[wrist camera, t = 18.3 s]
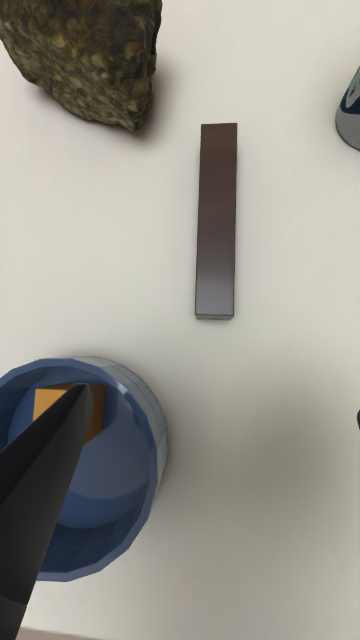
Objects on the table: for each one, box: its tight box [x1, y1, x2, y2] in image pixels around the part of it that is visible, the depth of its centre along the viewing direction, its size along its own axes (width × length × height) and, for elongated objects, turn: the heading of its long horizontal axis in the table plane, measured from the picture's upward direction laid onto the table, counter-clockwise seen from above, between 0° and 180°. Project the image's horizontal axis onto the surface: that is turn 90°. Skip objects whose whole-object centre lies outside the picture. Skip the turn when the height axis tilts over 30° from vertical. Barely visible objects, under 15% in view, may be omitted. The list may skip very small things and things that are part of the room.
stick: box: [195, 123, 237, 320], centre depth 21 cm, size 3×3×14 cm
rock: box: [0, 0, 162, 132], centre depth 21 cm, size 12×9×8 cm
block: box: [33, 383, 105, 446], centre depth 19 cm, size 3×3×3 cm
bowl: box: [0, 357, 168, 582], centre depth 19 cm, size 13×13×4 cm
